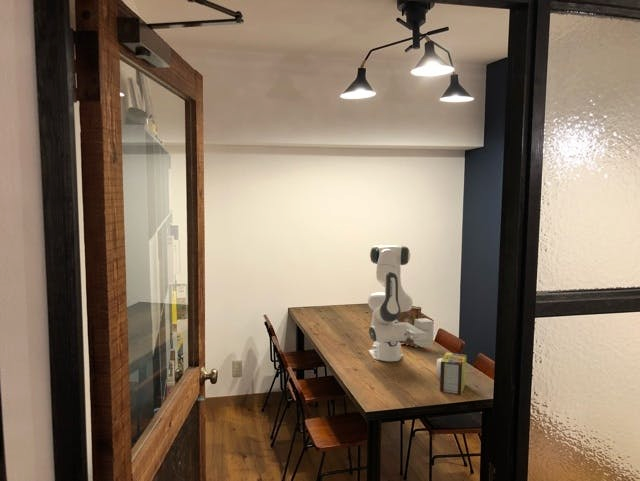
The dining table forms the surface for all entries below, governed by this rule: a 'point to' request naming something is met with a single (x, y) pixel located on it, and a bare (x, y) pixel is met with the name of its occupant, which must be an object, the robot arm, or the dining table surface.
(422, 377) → the dining table surface
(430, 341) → the supplement box
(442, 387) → the protein box
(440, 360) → the off-white mug
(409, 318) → the book
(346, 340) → the dining table surface
